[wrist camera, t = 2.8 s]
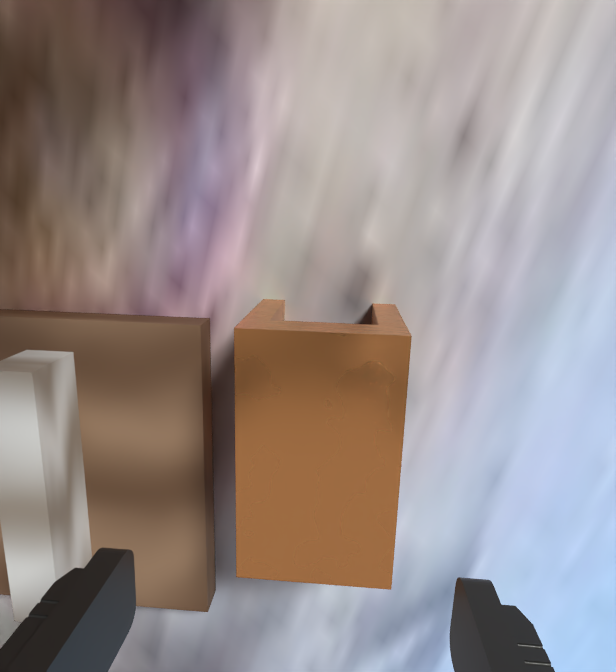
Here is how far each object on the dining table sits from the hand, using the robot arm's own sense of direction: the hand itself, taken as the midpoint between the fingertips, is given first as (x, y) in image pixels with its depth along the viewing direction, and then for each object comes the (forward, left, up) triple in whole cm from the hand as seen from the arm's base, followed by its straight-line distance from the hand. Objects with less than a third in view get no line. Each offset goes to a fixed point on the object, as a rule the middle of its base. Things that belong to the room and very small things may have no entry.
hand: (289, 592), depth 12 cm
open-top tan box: (0, 0, -12) cm, 12 cm away
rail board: (+3, -12, -12) cm, 17 cm away
